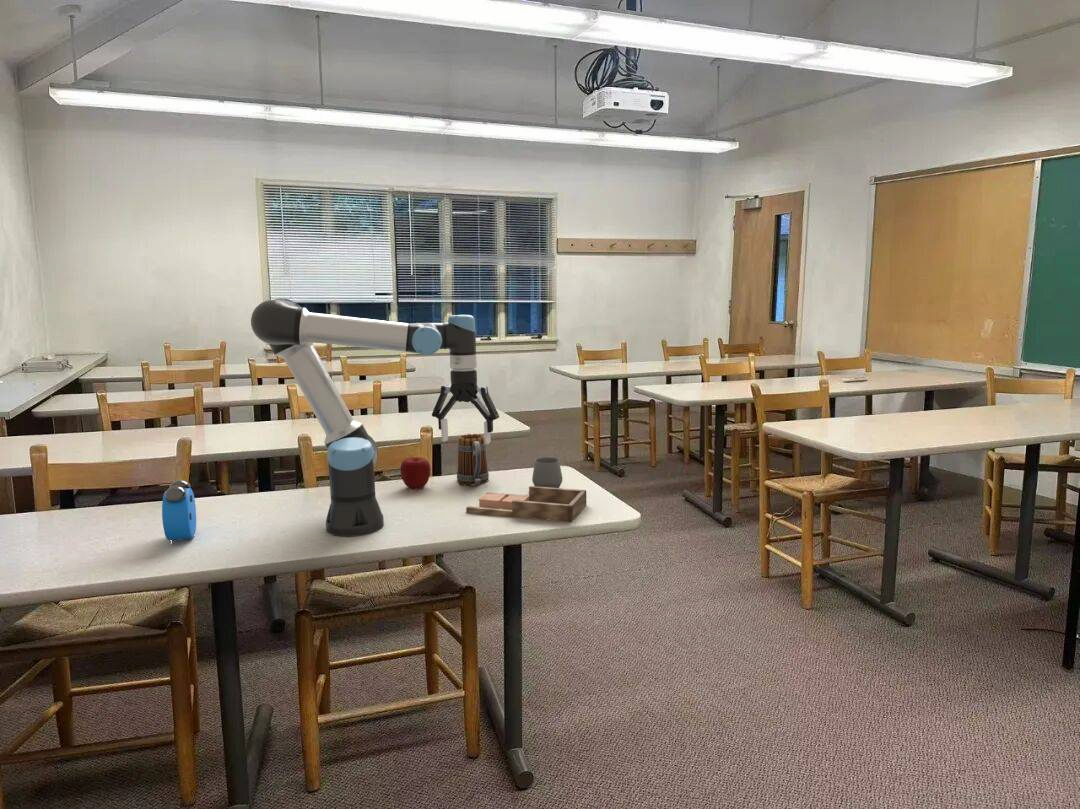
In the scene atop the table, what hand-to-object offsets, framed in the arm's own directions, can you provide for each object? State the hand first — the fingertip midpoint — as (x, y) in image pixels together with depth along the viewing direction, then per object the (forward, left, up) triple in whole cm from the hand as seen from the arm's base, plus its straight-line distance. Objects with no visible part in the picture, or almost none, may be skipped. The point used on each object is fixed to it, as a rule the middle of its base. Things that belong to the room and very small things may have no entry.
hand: (466, 442), depth 207 cm
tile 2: (+15, +1, -19) cm, 24 cm away
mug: (-7, +22, -19) cm, 30 cm away
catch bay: (+18, +1, -19) cm, 26 cm away
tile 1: (+8, +1, -19) cm, 21 cm away
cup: (+19, +19, -19) cm, 32 cm away
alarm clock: (-60, -46, -19) cm, 79 cm away
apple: (-23, +12, -19) cm, 32 cm away
